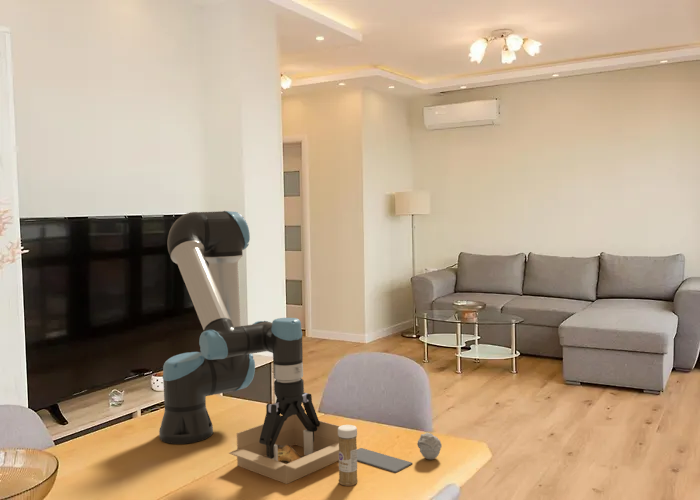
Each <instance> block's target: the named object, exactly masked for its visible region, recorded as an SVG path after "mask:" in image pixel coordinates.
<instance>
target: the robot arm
mask: <svg viewBox="0 0 700 500" xmlns="http://www.w3.org/2000/svg"><path fill="white" fill-rule="evenodd" d="M250 239H251V238H250V229H249V225H248V223H247V221H246V219H245V218H244V216H243V215H242V214H241V213H239V212H238V211H228V210H222V211H221V210H220V211H219V210H218V211H199V212H198V211H191V212H187V213H184V214H182V215H180V217H178V218H177V219H176V220H175V221H174V222H173V224H172V225H171V227H170V229H169V232H168V235H167V251H168V254H169V256H170V259H171V261H172V262H173V263H175V264H176V265H177V266H178V269H179V272H180V275H181V277H182V280H183V282H184V283H185V286H186V290H187V292H188V294H189V297H190V299H191V301H192V304H193V306H194V310H195V312H196V314H197V318H198V320H199V323H200V324H201V327H202V330H203V331H202V332H201V334H200V336H199V342H198V344H199V347H200V349H199V351H191V352H183V353H179V354H176V355H173V356H171V357H169V358H168V359H167V360H166V361H165V362H164V363H163V366H162V369H163V370H162V374H163V375H162V381H163V401H164V405H163V406H164V413H163V416H162V419H161V422H160V427H159V430H158V433H159V435H158V436H159V440H160V441H161V442H163V443H167V444H173V445H182V444H183V445H185V444H192V443H197V442H201V441H204V440H207V439H208V438H210V437H211V436H212V435H213V433H214V428H213V423H212V420H211V417H210V415H209V412H208V409H207V405H206V404H207V403H206V402H207V401H206V400H207V399H206V397H208V396H213V395H219V394H224V393H230V392H237V391H239V390H243V389H246V388H247V387H249V386H250V384H251V383H252V382H253V379H254V378H255V373H256V372H255V371H256V362H255V359H254V354H258V353H264V352H265V353H266V352H269V353H272V360H273V361H272V362H273V363H272V364H273V365H272V366H273V367H272V368H273V379H274V382H273V390H274V395H275V397H276V400H275V403H270V402H268V403H266V406H265V407H266V408H265V409H266V411H265V412H266V413H265V417H264V421H263V423H262V424H263V428H262V432H261V436H260V440H259V443H260V444H264V445H266V453H267V455H266V457H267V458H270V459H273V460H276V461H278V446H277V445H276V444H275V442H276V440H277V438H278V435H279V433H280V431H281V428H282V426H283V424H284V421H286V420H287V418H288V417H290V416H292V415H297V417H298V418H299V420H300V421H301V422H302V424H303V425H304V427H305V428H306V429H307V430H304V431H303V433H304V447H303V456H307V455H309V454H312V453H314V450H313V442H314V431H317V427H319V425H320V423H319V421H320V420H319V417H318V415H317V413H316V409H315V406H314V404H313V399H312V398H313V396H312V394H311V393H309V392H308V393H307V392H304V391H305V388H304V387H305V386H304V385H305V383H304V379H303V377H304V367H303V366H304V365H303V363H304V361H303V355H304V354H303V353H304V352H303V331H302V322H301V320H300V319H299V318H297V317H279V318H275V319H273V320H272V322H271V321H267V320H264V321H262V320H258V321H255V322H254V323H252V324H247V325H241V307H240V305H241V303H240V286H239V261H240V259H242V257H243V250H245V249H247V248H248V246H249V243H250Z"/></svg>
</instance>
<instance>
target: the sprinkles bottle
mask: <svg viewBox="0 0 700 500" xmlns="http://www.w3.org/2000/svg"><path fill="white" fill-rule="evenodd" d="M338 426H339V427H338V437H339V461H338V476H339V478H338V484H339V485H342V486H346V487H349V486H350V487H352V486H354V485H356V484H357V483H358V482H359V480H358V461H357V449H358V446H357V436H358V428H357V426H356V425H354V424H353V425H352V424H342V425H338Z"/></svg>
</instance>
